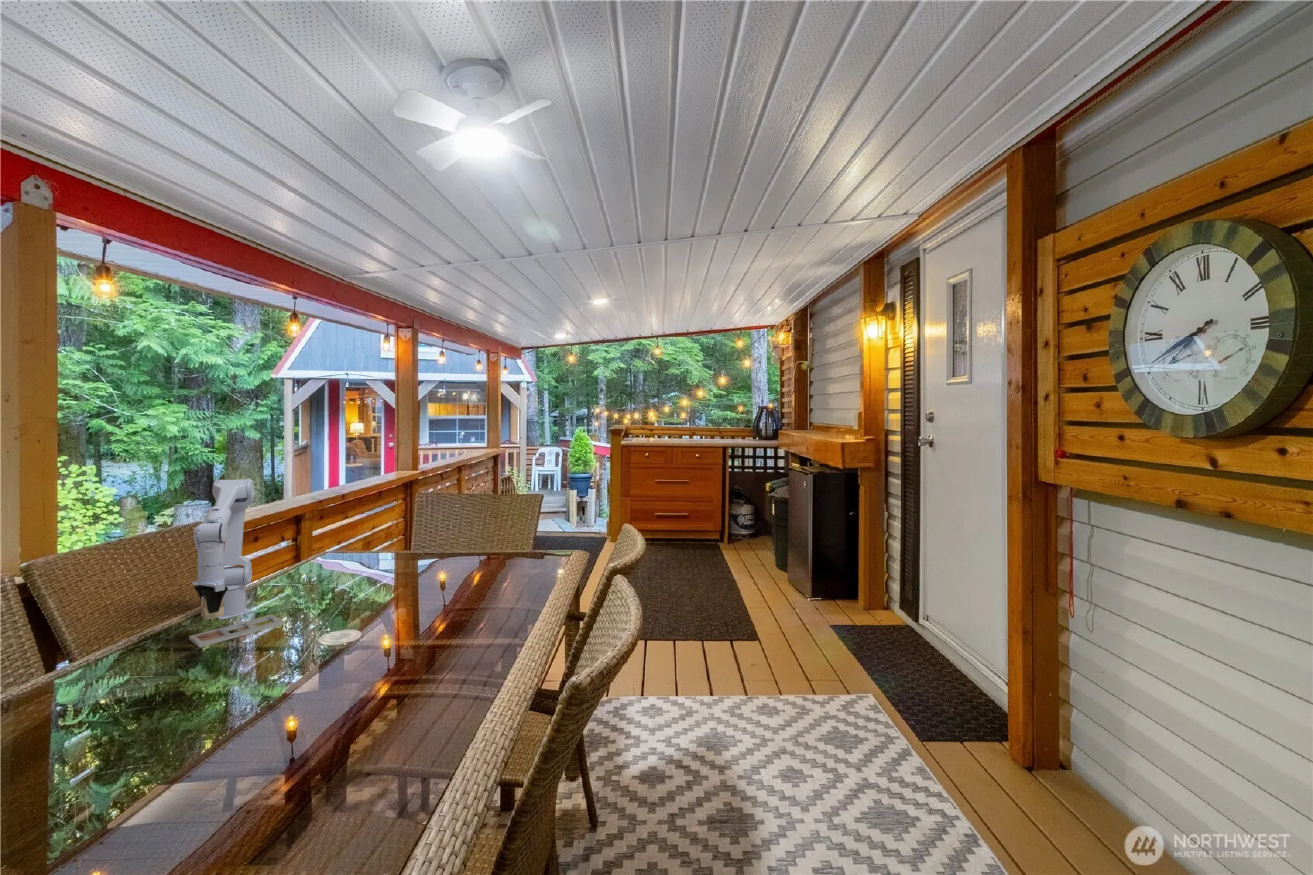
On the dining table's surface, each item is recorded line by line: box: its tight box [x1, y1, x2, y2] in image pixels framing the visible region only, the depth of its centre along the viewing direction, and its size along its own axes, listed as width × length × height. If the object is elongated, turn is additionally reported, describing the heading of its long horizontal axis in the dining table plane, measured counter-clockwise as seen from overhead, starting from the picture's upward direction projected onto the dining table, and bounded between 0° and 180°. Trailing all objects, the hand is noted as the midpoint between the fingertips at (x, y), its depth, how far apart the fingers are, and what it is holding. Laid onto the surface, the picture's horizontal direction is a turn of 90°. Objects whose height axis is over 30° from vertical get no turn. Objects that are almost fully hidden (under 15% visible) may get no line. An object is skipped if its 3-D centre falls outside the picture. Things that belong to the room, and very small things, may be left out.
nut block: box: [200, 596, 224, 621], centre depth 150 cm, size 4×4×6 cm
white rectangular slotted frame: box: [188, 614, 285, 648], centre depth 155 cm, size 8×20×1 cm, turn 147°
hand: (210, 610), depth 150 cm, fingers closed on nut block, 4 cm apart
